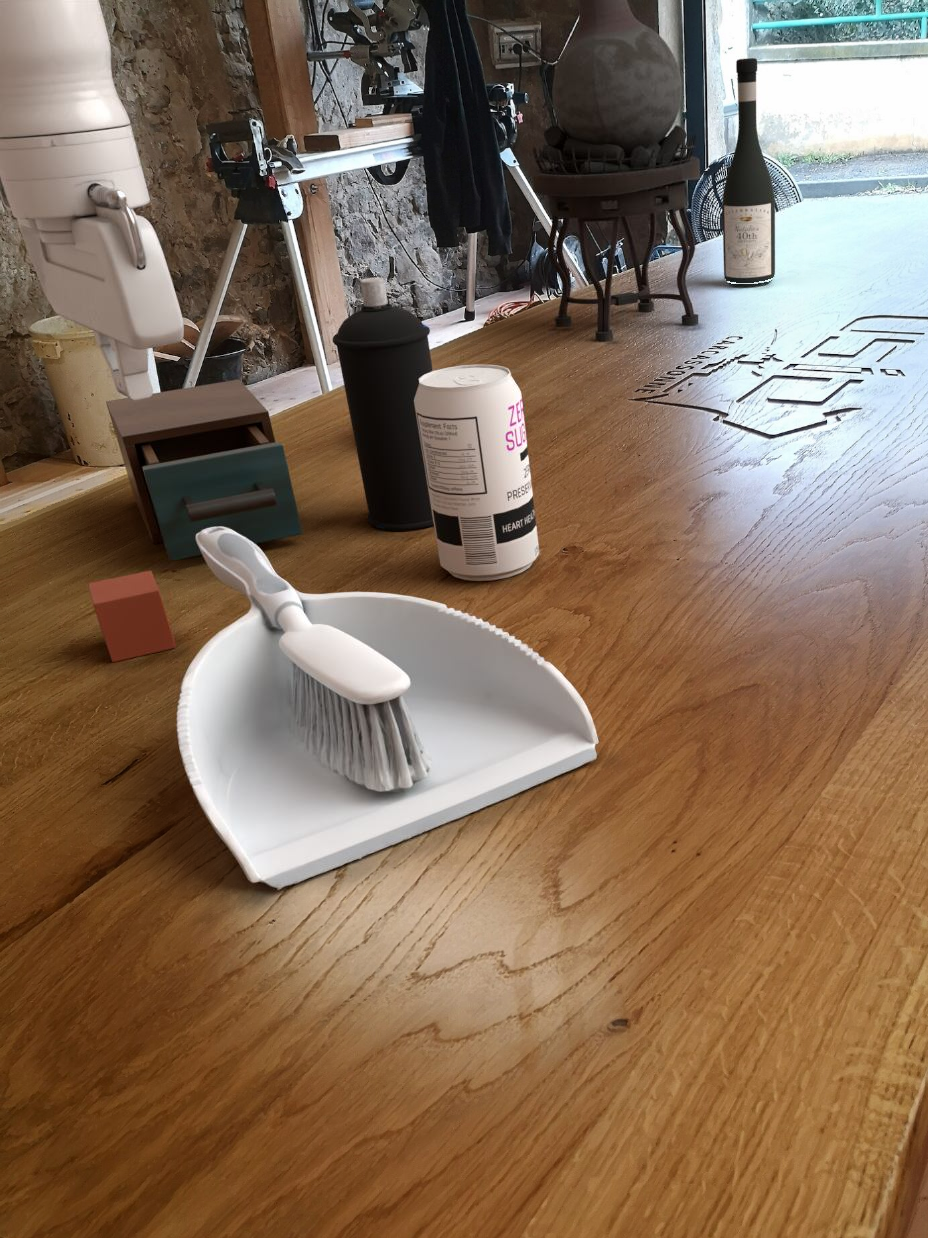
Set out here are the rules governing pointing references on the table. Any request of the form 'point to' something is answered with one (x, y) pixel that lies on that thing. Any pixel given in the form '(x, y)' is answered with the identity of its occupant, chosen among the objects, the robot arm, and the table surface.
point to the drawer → (219, 487)
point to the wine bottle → (748, 195)
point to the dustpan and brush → (359, 719)
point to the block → (131, 616)
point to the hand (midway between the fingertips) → (136, 395)
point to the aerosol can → (387, 406)
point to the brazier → (616, 150)
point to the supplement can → (477, 471)
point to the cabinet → (179, 427)
